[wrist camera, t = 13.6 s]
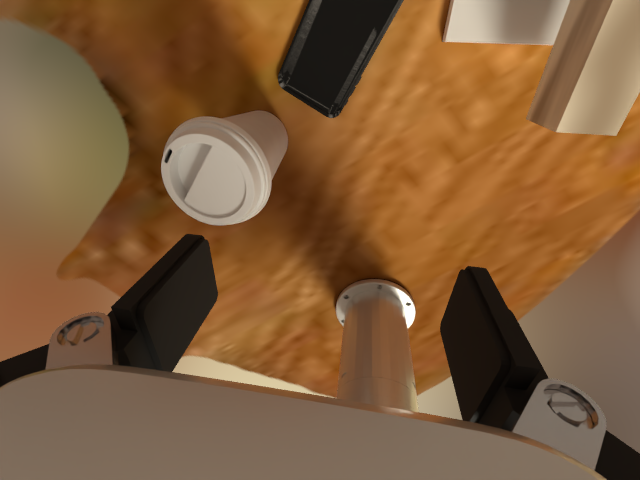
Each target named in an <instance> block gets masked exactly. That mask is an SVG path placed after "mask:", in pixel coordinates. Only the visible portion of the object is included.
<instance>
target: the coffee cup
mask: <svg viewBox="0 0 640 480" xmlns="http://www.w3.org/2000/svg"><path fill="white" fill-rule="evenodd" d="M287 147H288V135H287V132H286V129H285V127H284V125H283V124H282V122H281V121H280V120H279V119H278V118H277V117H276V116H274V115H273V114H271V113H269V112H266V111H260V110H258V111H252V112H247V113H243V114H239V115H234V116H230V117H226V118H216V117H207V116H205V117H196V118H193V119H190V120H187V121H185V122H184V123H182V124H181V125H180V126H178V127H177V128H176V129H175V130H174V132H173V133H172V134H171V136H170V137H169V139H168V141H167V143H166V146H165V149H164V153H163V157H162V162H161V173H162V179H163V182H164V185H165V187H166V190H167V192H168V193H169V195H170V197H171V198H172V200H173V201H174V202H175V203H176V204H177V206H178V207H179V208H180V209H182V210H183V211H184V212H185V213H186V214H188V215H189V216H191V217H193V218H194V219H196V220H198V221H201V222H203V223H207V224H211V225H229V224H236V223H240V222H244V221H246V220H248V219H250V218H252V217H254V216H255V215H256V214H258V213H259V212H260V211H261V210H262V209H263V207H264V206H265V205H266V203H267V201H268V199H269V196H270V192H271V184H272V179H273V177H274V175H275V173H276V171H277V169H278V167H279V165H280V163H281V161H282V159H283V157H284V155H285V153H286V150H287Z"/></svg>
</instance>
